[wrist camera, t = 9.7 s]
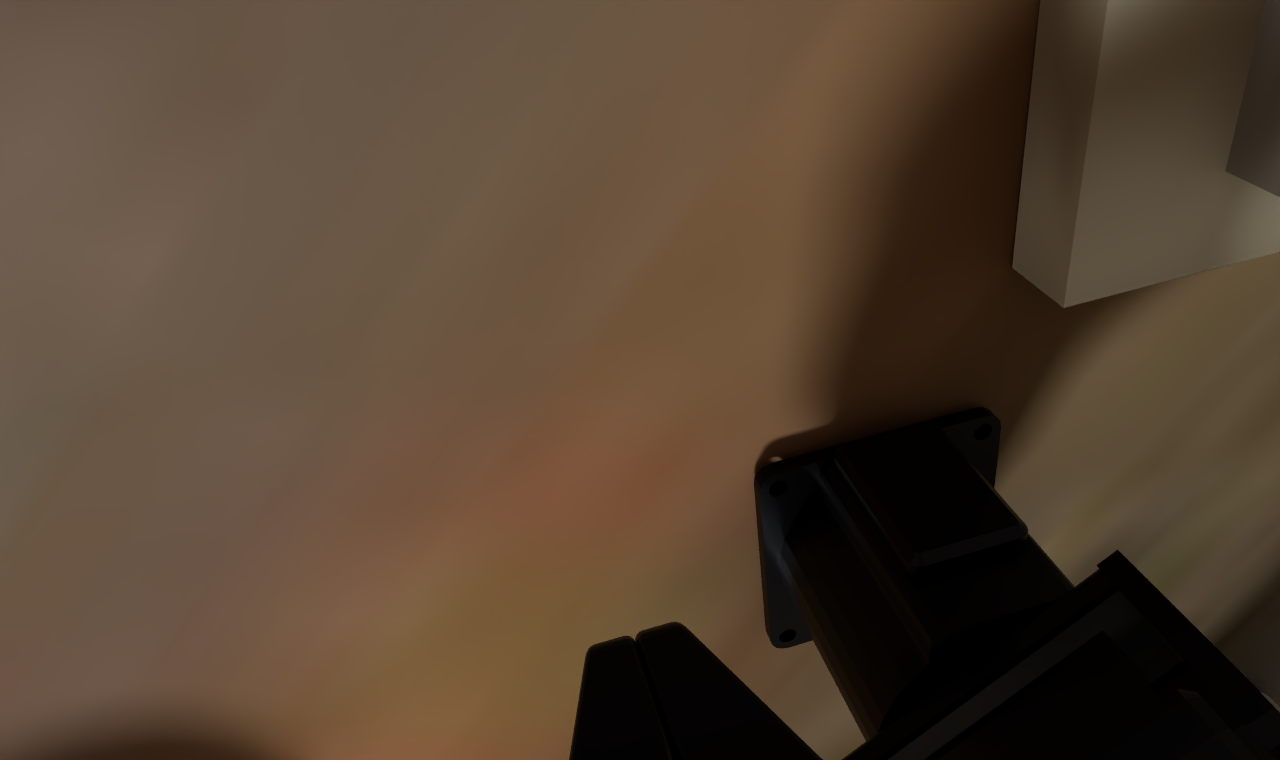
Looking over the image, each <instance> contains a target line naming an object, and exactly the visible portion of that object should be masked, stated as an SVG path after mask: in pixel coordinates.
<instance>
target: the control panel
mask: <svg viewBox="0 0 1280 760" xmlns="http://www.w3.org/2000/svg"><path fill="white" fill-rule="evenodd" d="M1277 252H1280V0H1040V8H1039V18H1038V27H1037V37H1036V46H1035V55H1034V65H1033V74H1032V84H1031V93H1030V103H1029V112H1028V122H1027V131H1026V141H1025V150H1024V160H1023V169H1022V179H1021V188H1020V198H1019V207H1018V217H1017V226H1016V236H1015V245H1014V255H1013V264H1012V268H1013V269H1014V270H1015V271H1017V272H1018V273H1019V274H1021V275H1022V276H1023V277H1024V278H1026V279H1027V280H1028V281H1030V282H1031V283H1032V284H1033V285H1035V286H1036V287H1037V288H1039V289H1040V290H1041V291H1042V292H1044V293H1045V294H1046V295H1047V296H1049V297H1050V298H1051V299H1053V300H1054V301H1055V302H1056V303H1058V304H1059V305H1060V306H1062V307H1063V308H1066V307H1070V306H1073V305H1077V304H1081V303H1085V302H1089V301H1093V300H1096V299H1100V298H1104V297H1108V296H1112V295H1116V294H1120V293H1123V292H1127V291H1131V290H1135V289H1139V288H1143V287H1146V286H1150V285H1154V284H1158V283H1162V282H1166V281H1169V280H1173V279H1177V278H1181V277H1185V276H1189V275H1193V274H1196V273H1200V272H1204V271H1208V270H1212V269H1216V268H1219V267H1223V266H1227V265H1231V264H1235V263H1239V262H1242V261H1246V260H1250V259H1254V258H1258V257H1262V256H1266V255H1269V254H1273V253H1277Z"/></svg>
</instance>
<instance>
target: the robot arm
mask: <svg viewBox="0 0 1280 760" xmlns="http://www.w3.org/2000/svg"><path fill="white" fill-rule="evenodd" d="M981 425H982V426H981ZM979 426H981V427H980V428H979V429H977V428H978V427H979ZM976 429H977V430H976ZM1000 431H1001V424H1000V421H999V420H998V418H997V417H996V416H995V415H994V414H993V413H992V412H991V411H990V410H989V409H987V408H984V407H978V408H973V409H969V410H966V411H962V412H958V413H955V414H951V415H947V416H944V417H940V418H936V419H932V420H929V421H925V422H921V423H918V424H914V425H910V426H907V427H903V428H899V429H896V430H892V431H888V432H885V433H881V434H877V435H874V436H870V437H866V438H863V439H859V440H855V441H852V442H848V443H844V444H840V445H837V446H833V447H829V448H826V449H822V450H818V451H815V452H811V453H807V454H804V455H800V456H796V457H793V458H789V459H785V460H782V461H778V462H774V463H771V464H769V465H766V466H764V467H763V468H762V469H761V470H760V471H759V472H758V473H757V475H756V476H755V480H754V491H755V503H756V516H757V528H758V540H759V553H760V565H761V578H762V590H763V602H764V615H765V627H766V632H767V635H768V637H769V639H770V641H771V643H772V645H773V646H775V647H776V648H789V647H792V646H795V645H799V644H802V643H805V642H809V641H812V640H813V641H814V643H815V645H816V647H817V649H818V650H819V652H820V654H821V656H822V658H823V660H824V662H825V664H826V666H827V668H828V670H829V671H830V673H831V675H832V677H833V679H834V681H835V683H836V685H837V687H838V689H839V691H840V693H841V694H842V696H843V698H844V700H845V702H846V704H847V706H848V708H849V710H850V712H851V714H852V715H853V717H854V719H855V721H856V723H857V725H858V727H859V729H860V731H861V733H862V735H863V736H864V738H865V740H866V742H865V743H864V744H862V745H861V746H860V747H858V748H857V749H855V750H854V751H853V752H851V753H850V754H849V755H847V756H846V757H845V758H843V759H842V760H1280V712H1279V711H1278V710H1277V709H1276V708H1275V707H1274V706H1273V705H1272V704H1271V703H1270V702H1269V701H1268V700H1267V699H1266V698H1265V696H1264V695H1263V694H1262V693H1261V692H1260V691H1259V690H1258V689H1257V688H1256V687H1255V686H1254V685H1253V684H1252V683H1251V682H1250V681H1249V680H1248V679H1247V678H1246V677H1245V676H1244V675H1243V674H1242V673H1241V672H1240V671H1239V670H1238V669H1237V668H1236V667H1235V666H1234V665H1233V664H1232V663H1231V662H1230V661H1229V660H1228V659H1227V658H1226V657H1225V656H1224V655H1223V654H1222V653H1221V652H1220V651H1219V650H1218V649H1217V648H1216V647H1215V646H1214V645H1213V644H1212V643H1211V642H1210V641H1209V640H1208V639H1207V638H1206V637H1205V636H1204V635H1203V634H1202V633H1201V632H1200V631H1199V630H1198V629H1197V628H1196V627H1195V626H1194V625H1193V624H1192V623H1191V622H1190V621H1189V620H1188V619H1187V618H1186V617H1185V616H1184V615H1183V614H1182V613H1181V612H1180V611H1179V610H1178V609H1177V608H1176V607H1175V606H1174V605H1173V604H1172V603H1171V602H1170V601H1169V600H1168V599H1167V598H1166V597H1165V596H1164V595H1163V594H1162V593H1161V592H1160V591H1159V590H1158V589H1157V588H1156V587H1155V586H1154V585H1153V584H1152V583H1151V582H1150V581H1149V580H1148V579H1147V578H1146V577H1145V576H1144V575H1143V574H1142V573H1141V572H1140V571H1139V570H1138V569H1137V568H1136V567H1135V566H1134V565H1133V564H1132V563H1131V562H1130V561H1129V560H1128V559H1127V558H1125V557H1124V556H1123V555H1122V554H1121V553H1120V552H1119V551H1118V550H1116V551H1115V552H1114V553H1112V554H1111V555H1110V556H1108V557H1107V558H1106V559H1104V560H1103V561H1102V562H1100V563H1099V564H1097V567H1098V568H1099V569H1098V570H1097V571H1096V572H1094V573H1093V574H1092V575H1090V576H1089V577H1088V578H1086V579H1085V580H1084V581H1082V582H1081V583H1080V584H1078V585H1077V586H1076V587H1074V585H1073V584H1072V583H1071V582H1070V581H1069V580H1068V578H1067V577H1066V576H1065V575H1064V574H1063V573H1062V572H1061V570H1060V569H1059V568H1058V567H1057V566H1056V565H1055V564H1054V562H1053V561H1052V560H1051V559H1050V558H1049V557H1048V555H1047V554H1046V553H1045V552H1044V551H1043V550H1042V549H1041V547H1040V546H1039V545H1038V544H1037V543H1036V542H1035V540H1034V539H1033V538H1032V537H1031V536H1030V535H1029V534H1028V529H1027V526H1026V525H1025V523H1024V522H1023V521H1022V520H1021V519H1020V518H1019V517H1018V515H1017V514H1016V513H1015V512H1014V511H1013V510H1012V509H1011V507H1010V506H1009V505H1008V504H1007V503H1006V502H1005V501H1004V499H1003V498H1002V497H1001V496H1000V495H999V494H998V493H997V491H996V490H995V489H994V485H995V476H996V467H997V458H998V449H999V440H1000ZM778 480H781V481H780V482H779V483H778V484H777V485H775V486H771V485H772V484H773V483H774V482H776V481H778ZM569 760H822V759H821V758H820V757H819V756H818V755H817V754H816V753H815V752H814V751H813V750H812V749H811V748H810V747H809V746H808V745H807V744H806V743H805V742H804V741H803V740H802V739H801V738H800V737H799V736H798V735H797V734H796V733H795V732H794V731H792V730H791V729H790V728H789V727H788V726H787V725H786V724H785V723H784V722H783V721H782V720H781V719H780V718H779V717H778V716H777V715H776V714H775V713H774V712H773V711H772V710H771V709H770V708H769V707H768V706H767V705H766V704H765V703H764V702H763V701H762V700H761V699H760V698H759V697H757V696H756V695H755V694H754V693H753V692H752V691H751V690H750V689H749V688H748V687H747V686H746V685H745V684H744V683H743V682H742V681H741V680H740V679H739V678H738V677H737V676H736V675H735V674H734V673H733V672H732V671H731V670H730V669H729V668H728V667H727V666H726V665H725V664H723V663H722V662H721V661H720V660H719V659H718V658H717V657H716V656H715V655H714V654H713V653H712V652H711V651H710V650H709V649H708V648H707V647H706V646H705V645H704V644H703V643H702V642H701V641H700V640H699V639H698V638H697V637H696V636H695V635H694V634H693V633H692V632H691V631H690V630H688V629H687V628H686V627H685V626H684V625H682V624H681V623H678V622H670V623H667V624H663V625H660V626H656V627H653V628H649V629H646V630H643V631H641V632H639V633H638V634H637V635H636V638H635V641H634V639H633V638H632V637H630V636H622V637H619V638H615V639H612V640H608V641H605V642H601V643H598V644H595V645H592V646H591V647H590V648H589V649H588V651H587V653H586V657H585V663H584V669H583V675H582V682H581V688H580V694H579V701H578V707H577V713H576V720H575V726H574V732H573V739H572V745H571V751H570V758H569Z"/></svg>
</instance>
